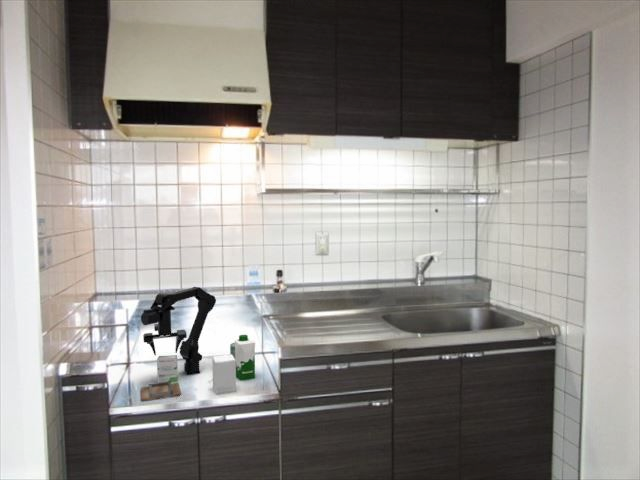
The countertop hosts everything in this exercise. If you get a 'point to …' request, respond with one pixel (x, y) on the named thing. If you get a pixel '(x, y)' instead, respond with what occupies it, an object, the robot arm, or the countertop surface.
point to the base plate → (160, 391)
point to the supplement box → (224, 374)
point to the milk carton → (245, 358)
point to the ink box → (167, 368)
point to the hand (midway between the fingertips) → (165, 354)
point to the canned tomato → (232, 349)
